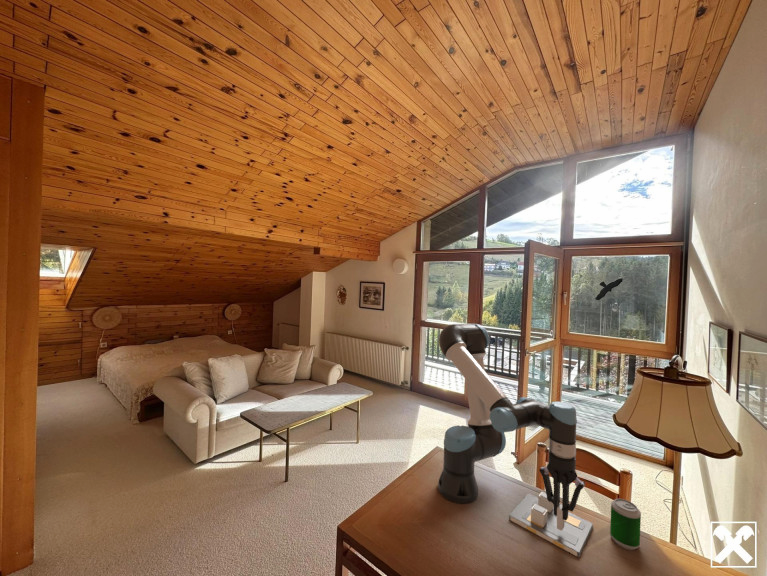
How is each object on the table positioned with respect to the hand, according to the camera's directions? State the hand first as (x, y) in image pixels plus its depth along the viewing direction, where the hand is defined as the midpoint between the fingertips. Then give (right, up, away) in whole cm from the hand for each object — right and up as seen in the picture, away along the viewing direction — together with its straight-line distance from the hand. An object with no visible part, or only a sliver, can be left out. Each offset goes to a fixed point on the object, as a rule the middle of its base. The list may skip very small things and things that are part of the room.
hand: (560, 527), depth 102 cm
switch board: (0, -4, +6) cm, 7 cm away
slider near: (-5, -2, +5) cm, 7 cm away
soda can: (+20, -5, -1) cm, 20 cm away
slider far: (+1, -2, +12) cm, 12 cm away
